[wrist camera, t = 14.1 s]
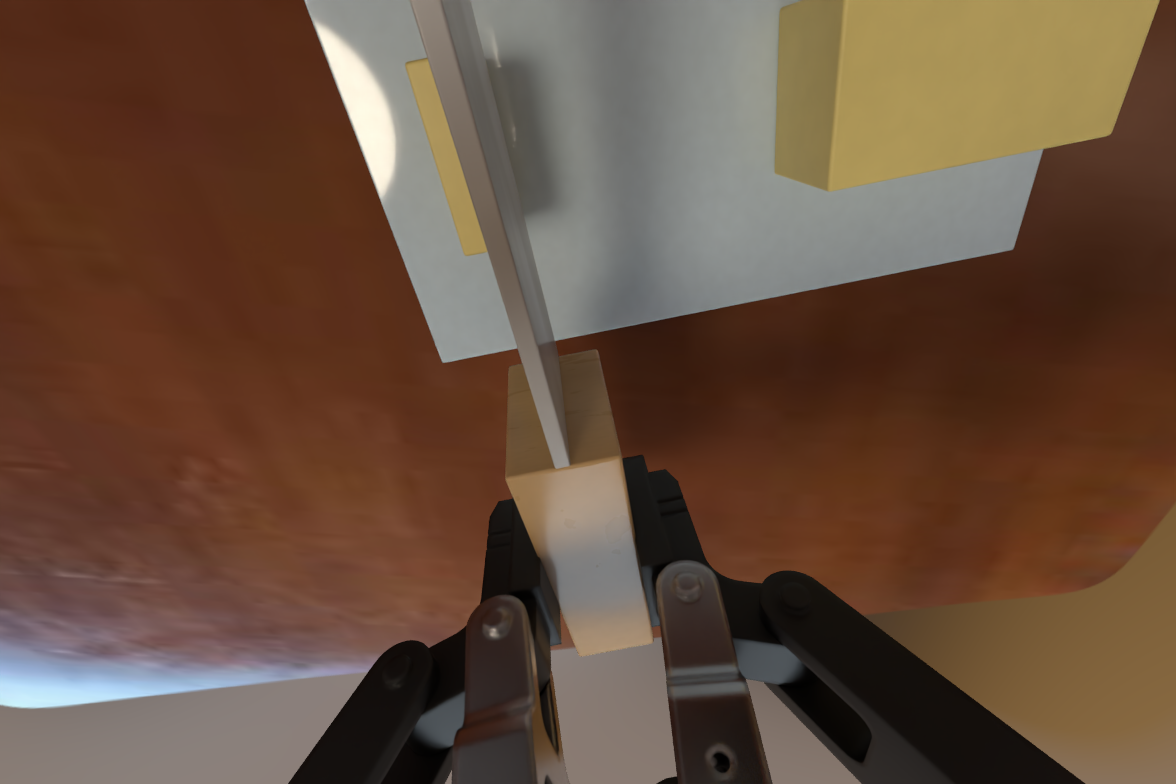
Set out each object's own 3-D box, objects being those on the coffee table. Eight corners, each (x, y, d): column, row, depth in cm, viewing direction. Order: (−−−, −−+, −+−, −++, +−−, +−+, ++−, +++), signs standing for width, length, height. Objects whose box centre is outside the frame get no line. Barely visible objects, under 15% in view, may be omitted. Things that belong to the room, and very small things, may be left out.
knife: (632, 536, 17) (654, 643, 14) (569, 548, 17) (579, 658, 14) (488, -253, 6) (461, -474, 3) (313, -214, 6) (134, -401, 3)
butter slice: (431, 69, 12) (402, 61, 10) (485, 58, 12) (471, 47, 10) (477, 227, 15) (464, 257, 12) (523, 217, 14) (520, 246, 12)
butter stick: (778, 7, 12) (846, -17, 10) (1049, -49, 12) (1194, -88, 10) (773, 174, 15) (827, 193, 12) (1004, 127, 14) (1112, 135, 12)
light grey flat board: (278, -101, 11) (258, -117, 10) (1133, -281, 11) (1183, -313, 10) (446, 351, 18) (442, 363, 17) (990, 242, 17) (1014, 250, 17)
